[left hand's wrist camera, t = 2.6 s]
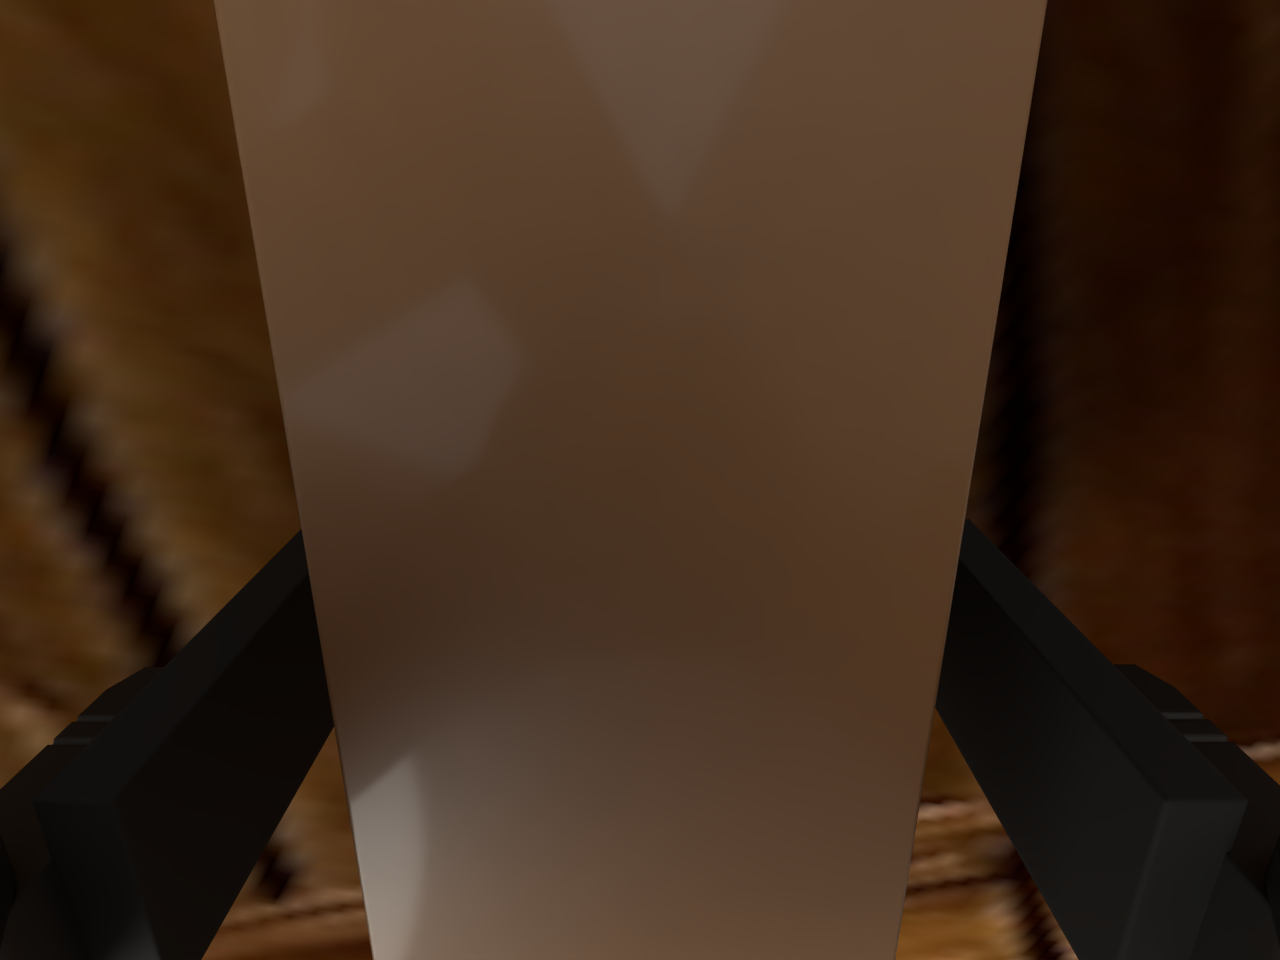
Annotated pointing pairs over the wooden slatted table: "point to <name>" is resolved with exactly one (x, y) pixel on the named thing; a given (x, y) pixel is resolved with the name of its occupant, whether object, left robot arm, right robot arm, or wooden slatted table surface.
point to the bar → (632, 443)
